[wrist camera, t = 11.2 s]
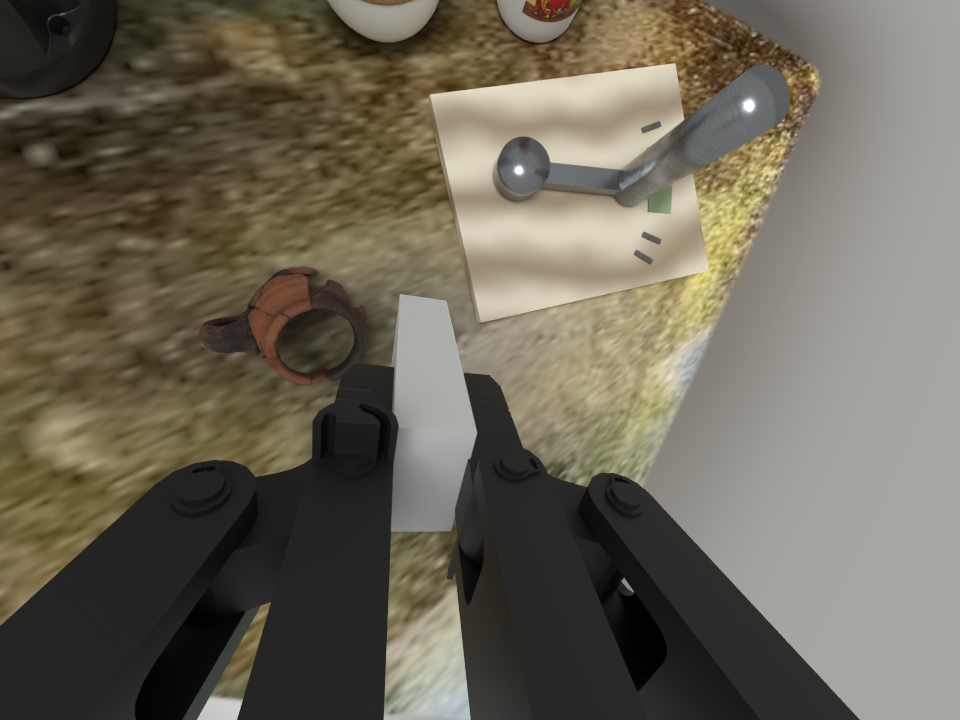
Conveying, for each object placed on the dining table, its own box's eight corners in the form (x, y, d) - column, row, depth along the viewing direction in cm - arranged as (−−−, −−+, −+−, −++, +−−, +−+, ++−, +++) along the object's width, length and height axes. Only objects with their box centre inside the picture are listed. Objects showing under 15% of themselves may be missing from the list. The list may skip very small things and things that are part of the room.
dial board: (428, 108, 35) (429, 93, 33) (661, 77, 39) (676, 61, 37) (477, 323, 37) (481, 322, 35) (694, 273, 41) (709, 270, 39)
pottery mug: (341, 250, 35) (364, 275, 29) (361, 342, 40) (384, 380, 34) (185, 275, 30) (172, 311, 24) (229, 376, 35) (228, 427, 29)
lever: (492, 198, 34) (548, 107, 20) (493, 147, 34) (550, 19, 20) (655, 213, 37) (801, 141, 23) (658, 165, 37) (806, 64, 23)
